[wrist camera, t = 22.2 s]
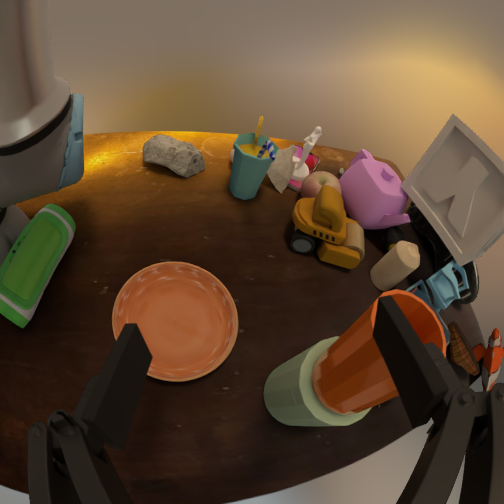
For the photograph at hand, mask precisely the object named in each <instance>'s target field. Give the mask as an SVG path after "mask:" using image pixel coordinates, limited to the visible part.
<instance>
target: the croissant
mask: <svg viewBox="0 0 504 504" xmlns="http://www.w3.org/2000/svg"><path fill="white" fill-rule="evenodd" d="M448 330H449V332H450V342H449V343H450V360H452V361H453V362H454V363H456V364H457V365H459V366H462V367H463V369H465V370H466V371H467V372H469V373H470V374H472V375H474V376H475V375H477V374H478V373H479V372H480V368H479V364H478V362H477V360H476V357H475V355H474V353H473V351H472V349H471V347H470V345H469V343H468V342H467V340H466V338H465V336H464V334H463V333H462V331H461V330H460V328H459V326H458V325H457V324H456V323H455V322H454V321H453V322H451V323H450V324H449V325H448Z"/></svg>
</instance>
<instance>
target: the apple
mask: <svg viewBox="0 0 504 504" xmlns="http://www.w3.org/2000/svg"><path fill="white" fill-rule="evenodd" d="M323 185H329V186H331V187H334V188H335V189H336V190H337V191H338V192H339V193H340V194H341V193H342V191H341V185H340V182H339V181H338V179H337V178H336V177H335V176H334V175H332V174H331V173H328V172H325V171H318V172H314V173H311V174H309V175H308V176H307V177H306V178H305V179H304V181H303V182H302V185H301V197H302V198H313V197H314V198H316V197H317V195H318V193H319V191H320V189H321V187H322V186H323Z"/></svg>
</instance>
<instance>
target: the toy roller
mask: <svg viewBox="0 0 504 504" xmlns="http://www.w3.org/2000/svg"><path fill="white" fill-rule="evenodd" d="M292 218H293V221H294V224H295V231H294V233H293V234H292V238H291V248H292V249H293V250H294V251H295V252H297V253H302V254H306V253H310V252H312V251H313V250H314V248H315V237H318V242H317V255H318V257H319V259H320V260H321V261H324V262H328V263H331V264H334V265H337V266H341V267H344V268H348V269H353V268H355V267H357V266H358V264H359V263H360V261H361V260H363V258H364V230H363V228H362V227H361V226H360V225H359V223H358V222H357V221H355V220H352V219H350V218H347V217H346V211H345V210H344V203H343V198H342V196H341V194H340V193H339V192H338V191H337V190H336V189H335V188H334V187H331V186H329V185H323V186H322V187H321V189H320V191H319V193H318V195H317V197H316V198H314V197H313V198H302V199H300V200H298V201H297V203H296V205H295V207H294V209H293V212H292Z"/></svg>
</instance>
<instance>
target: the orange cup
mask: <svg viewBox="0 0 504 504" xmlns="http://www.w3.org/2000/svg"><path fill="white" fill-rule="evenodd" d="M388 295H391V296H392V297H393V299H394V300H395V301H396V303H397V304H398V306H399V307H400V309H401V310H402V312H403V313H404V315H405V316H406V318H407V319H408V321H409V322H410V324H411V325H412V327H413V329H414V330H415V332H416V333H417V335H418V336H419V338H420V340H421V341H422V343H423V344H427V343H430V342H433V343H434V344H435V345H436V346H438V347H439V348H440V349H441V351H442V352H443V354H444V355H445V357H446V339H445V335H444V331H443V328H442V325H441V324H440V322H439V320H438V318H437V316H436V314H435V313H434V311H433V310H432V309H431V308H430V307H429V306H428V305H427V304H426V303H425V302H424V301H423V300H422V299H420V298H419V297H417V296H415V295H414V294H412V293H410V292H407V291H403V290H398V289H395V290H391V291H386V292H383V293H382V294H381V295H380V296H379V297H383V296H388ZM377 304H378V299H377V300H376V301H375V302H374V303H373V304H372V305H371V306H370V307H369V308H368V309H367V310H366V311H365V312H364V313H363V314H362V315H361V316H360V317H359V318H358V320H357V321H356V322H355V323H354V324H353V325H352V326H351V327H350V328H349V329H348V330H347V331H346V332H344V333H343V334H342V335H341V336H340V337H339V338H338V339H337V340H336V341H335V342H334V343H333V344H332V345H331V346H330V347H329V348H328V349H327V350H326V351H324V352H323V353H322V354H321V355H320V357H319V358H318V359H317V361H316V363H315V365H314V368H313V373H312V382H313V387H314V391H315V393H316V395H317V397H318V398H319V400H320V401H321V402H322V404H323V405H324V406H326V407H327V408H328V409H330V410H331V411H333V412H336V413H338V414H344V415H350V414H355V413H359V412H362V411H364V410H366V409H369V408H371V407H373V406H376V405H378V404H380V403H383V402H385V401H387V400H389V399H391V398H393V397H395V396H397V395H399V393H398V391H397V388H396V386H395V384H394V381H393V379H392V377H391V375H390V372H389V370H388V368H387V366H386V364H385V361H384V359H383V357H382V355H381V353H380V350H379V348H378V346H377V344H376V342H375V340H374V338H373V336H372V334H373V328H374V323H375V317H376V311H377Z"/></svg>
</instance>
